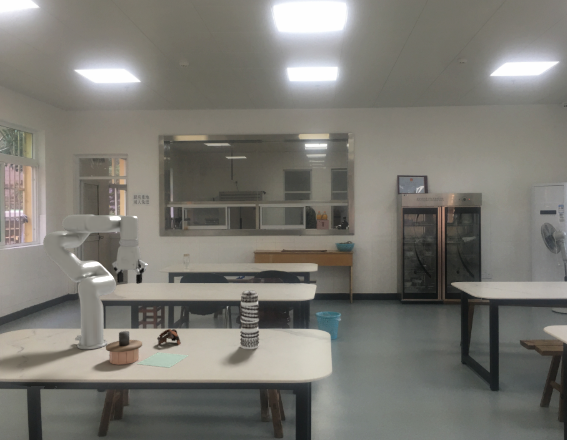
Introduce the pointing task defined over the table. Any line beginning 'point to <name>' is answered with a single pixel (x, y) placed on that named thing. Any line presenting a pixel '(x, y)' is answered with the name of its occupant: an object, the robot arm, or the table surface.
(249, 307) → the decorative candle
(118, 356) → the bowl
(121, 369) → the table surface
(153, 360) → the mat
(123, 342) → the lid
